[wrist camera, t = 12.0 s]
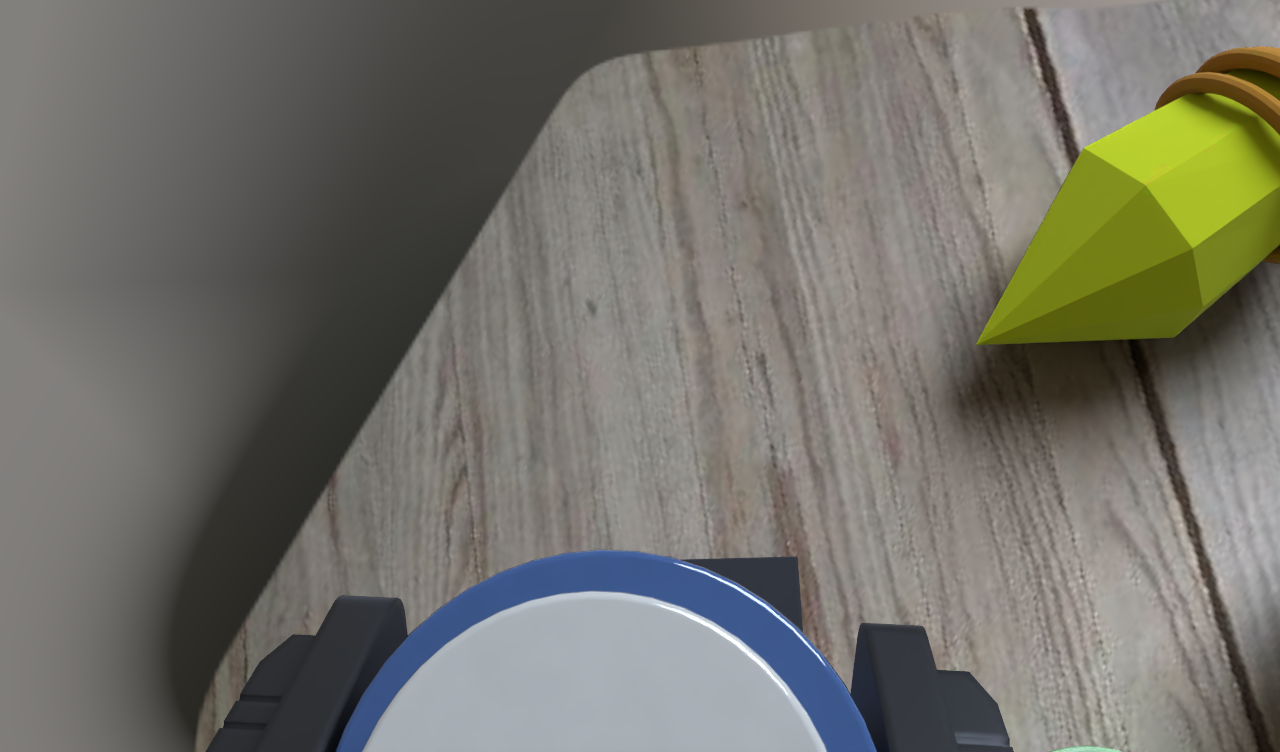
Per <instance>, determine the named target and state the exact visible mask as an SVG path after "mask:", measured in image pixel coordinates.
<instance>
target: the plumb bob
mask: <svg viewBox="0 0 1280 752" xmlns="http://www.w3.org/2000/svg"><path fill="white" fill-rule="evenodd" d="M1261 261H1265V262H1270V263H1277V264H1280V49H1279V48H1274V47H1253V48H1248V47H1245V48H1235V49H1231V50H1228V51H1224V52H1221V53H1219V54H1217V55H1215V56H1213V57H1211V58H1210V59H1209V60H1207V61H1206V62H1205V63H1204V64H1203V65H1202V66H1201V67H1200V68H1199V69H1198V71H1197V72H1196V73H1195V74H1192V75H1189V76H1185V77H1183V78H1181V79H1179V80H1177V81H1175V82H1174V83H1173V84H1171V85H1170V86H1169V87H1168V88H1167V89H1166V91H1165V92H1164V93H1163V94H1162V95H1161V97H1160V99H1159V100H1158V102H1157V104H1156V107H1155V110H1154V111H1153V112H1151V113H1150V114H1148V115H1146V116H1144V117H1142V118H1140V119H1138V120H1136V121H1134V122H1132V123H1130V124H1128V125H1127V126H1125V127H1123V128H1121V129H1119V130H1117V131H1115V132H1113V133H1111V134H1109V135H1107V136H1106V137H1104V138H1102V139H1100V140H1098V141H1096V142H1094V143H1092V144H1090V145H1088V146H1086V147H1084V148H1083V150H1082V152H1081V153H1080V155H1079V157H1078V159H1077V160H1076V162H1075V164H1074V165H1073V167H1072V169H1071V171H1070V172H1069V174H1068V176H1067V177H1066V179H1065V181H1064V183H1063V184H1062V186H1061V188H1060V190H1059V192H1058V194H1057V196H1056V197H1055V199H1054V201H1053V203H1052V205H1051V207H1050V208H1049V210H1048V212H1047V214H1046V216H1045V218H1044V220H1043V221H1042V223H1041V225H1040V227H1039V229H1038V231H1037V232H1036V234H1035V236H1034V238H1033V240H1032V242H1031V244H1030V245H1029V247H1028V249H1027V251H1026V253H1025V255H1024V256H1023V258H1022V260H1021V262H1020V264H1019V266H1018V268H1017V269H1016V271H1015V273H1014V275H1013V277H1012V279H1011V280H1010V282H1009V284H1008V286H1007V288H1006V290H1005V292H1004V293H1003V295H1002V297H1001V299H1000V301H999V303H998V304H997V306H996V308H995V310H994V312H993V314H992V316H991V317H990V319H989V321H988V323H987V325H986V327H985V328H984V330H983V332H982V334H981V336H980V338H979V340H978V341H977V343H976V345H990V344H1017V343H1043V342H1070V341H1096V340H1123V339H1149V338H1174V337H1175V336H1177V335H1178V334H1179V333H1180V332H1181V331H1182V330H1184V329H1185V328H1186V327H1187V326H1188V325H1189V324H1190V323H1192V322H1193V321H1194V320H1195V319H1196V318H1197V317H1198V316H1200V315H1201V314H1202V313H1203V312H1204V311H1205V310H1206V309H1208V308H1209V307H1210V306H1211V305H1212V304H1213V303H1214V302H1216V301H1217V300H1218V299H1219V298H1220V297H1221V296H1222V295H1224V294H1225V293H1226V292H1227V291H1228V290H1229V289H1231V288H1232V287H1233V286H1234V285H1235V284H1236V283H1237V282H1239V281H1240V280H1241V279H1242V278H1243V277H1244V276H1245V275H1247V274H1248V273H1249V272H1250V271H1251V270H1252V269H1253V268H1255V267H1256V266H1257V265H1258V264H1259V263H1260V262H1261Z"/></svg>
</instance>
